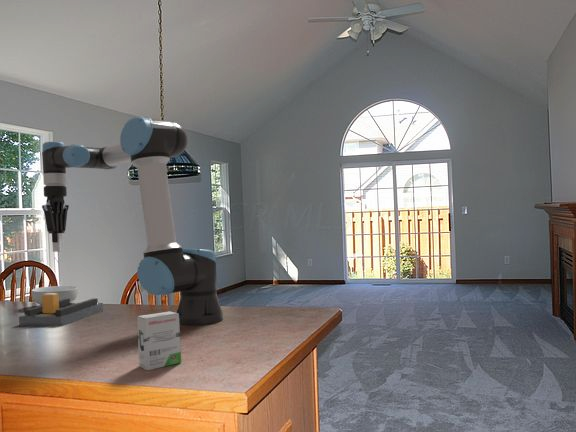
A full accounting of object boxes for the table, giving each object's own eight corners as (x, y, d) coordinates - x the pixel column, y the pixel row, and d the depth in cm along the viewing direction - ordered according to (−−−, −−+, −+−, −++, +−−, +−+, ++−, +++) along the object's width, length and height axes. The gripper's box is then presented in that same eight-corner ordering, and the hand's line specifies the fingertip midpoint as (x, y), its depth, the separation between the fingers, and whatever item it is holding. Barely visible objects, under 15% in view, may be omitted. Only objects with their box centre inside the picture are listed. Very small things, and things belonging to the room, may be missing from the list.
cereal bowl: (62, 310, 205) (61, 291, 205) (22, 310, 208) (21, 291, 208) (86, 302, 222) (86, 285, 222) (49, 302, 225) (48, 285, 225)
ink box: (172, 359, 132) (171, 310, 132) (182, 363, 128) (180, 312, 128) (138, 366, 127) (136, 315, 126) (146, 371, 123) (144, 318, 122)
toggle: (59, 311, 184) (58, 292, 184) (53, 313, 181) (53, 294, 181) (48, 311, 184) (47, 292, 184) (42, 313, 181) (42, 294, 181)
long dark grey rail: (97, 303, 200) (97, 298, 200) (60, 315, 177) (60, 310, 177) (93, 303, 200) (92, 298, 200) (55, 315, 177) (55, 310, 177)
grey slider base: (102, 310, 201) (102, 301, 201) (61, 326, 175) (61, 314, 175) (65, 310, 204) (65, 301, 204) (19, 325, 178) (18, 314, 178)
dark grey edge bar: (70, 303, 202) (69, 298, 202) (29, 315, 179) (29, 310, 179) (65, 303, 202) (65, 298, 202) (25, 315, 179) (24, 310, 179)
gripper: (56, 186, 204) (58, 250, 204) (34, 185, 191) (36, 253, 191) (74, 185, 202) (77, 249, 203) (53, 184, 190) (56, 252, 190)
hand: (57, 251), depth 197 cm, fingers closed
